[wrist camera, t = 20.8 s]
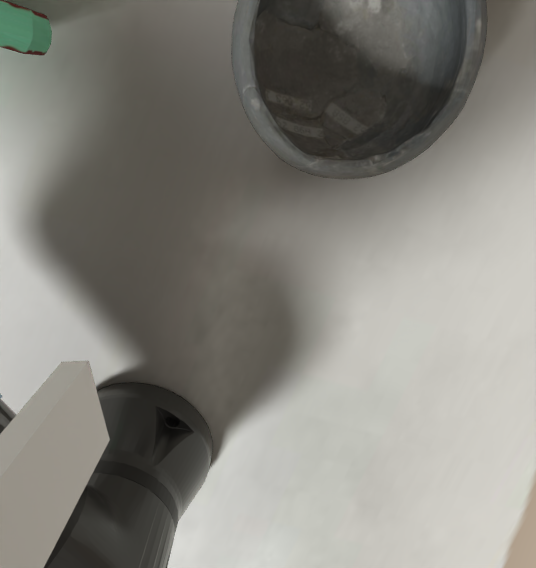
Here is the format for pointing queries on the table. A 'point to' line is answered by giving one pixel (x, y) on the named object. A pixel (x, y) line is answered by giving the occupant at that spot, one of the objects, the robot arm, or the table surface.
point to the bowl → (355, 77)
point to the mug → (24, 29)
